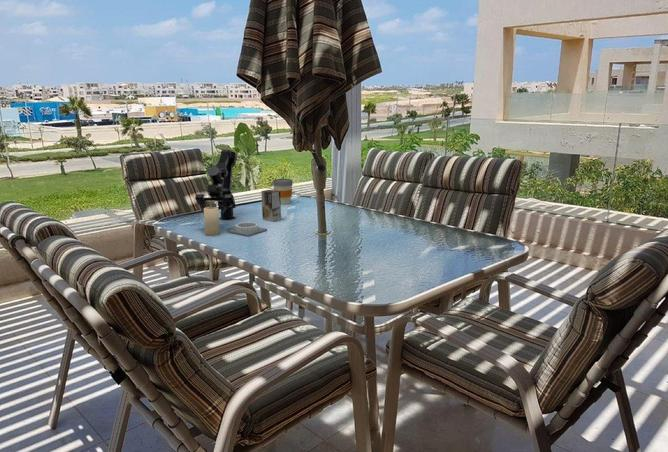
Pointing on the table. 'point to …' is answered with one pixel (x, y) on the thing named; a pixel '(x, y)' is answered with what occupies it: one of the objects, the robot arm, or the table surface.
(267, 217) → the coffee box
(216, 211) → the kraft roll
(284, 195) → the reusable coffee cup
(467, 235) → the table surface
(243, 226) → the ring holder
